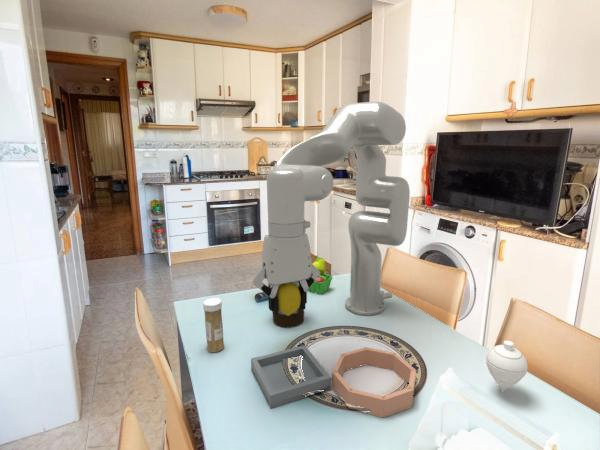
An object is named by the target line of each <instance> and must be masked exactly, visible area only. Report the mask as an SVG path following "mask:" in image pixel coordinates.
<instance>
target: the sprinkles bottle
mask: <svg viewBox="0 0 600 450" xmlns="http://www.w3.org/2000/svg"><path fill="white" fill-rule="evenodd" d="M222 304H223V303H222V299H221V298H218V297H211V298H208V299H205V300H204V301H203V310H204V324H205V326H204V327H205V338H206V349H207V351H208V352H210V353H218V352H220V351H222V350H224V348H225V343H224V327H223V317H222V316H223V315H222V306H223V305H222Z"/></svg>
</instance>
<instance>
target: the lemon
mask: <svg viewBox="0 0 600 450" xmlns="http://www.w3.org/2000/svg"><path fill="white" fill-rule="evenodd" d="M276 296H277V297H278V310H279V311H280V312H281V313H283V314H286V315H287V316H289V315H291V314H292V313H294V312H296V311H297V310H298V308H299V306H300V302H301V296H300V291H299V289H298V287H297V286H296V285H295V284H294V283H285V284H281V285H280V286H279V287H278V289H277V293H276Z"/></svg>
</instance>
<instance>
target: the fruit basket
mask: <svg viewBox="0 0 600 450" xmlns="http://www.w3.org/2000/svg"><path fill="white" fill-rule="evenodd" d="M311 263H312V264H313V265H314V266H315V267H316V268H317V269H318V270H319V271H320V275H319V276H318V277H317V278H316V279H315V280H314V282H313V284H312V285H311V286H310V287H309V291H308V292H312V293H314V294H318V295H322V294H323V293H326V292H327V291H329V289H330V286H331V282H332V280H333V276H332V275H328V274H327V273H326V274H325V272H326V261H325V260H324V258H323V257H316V258H315V260H314V262H311Z"/></svg>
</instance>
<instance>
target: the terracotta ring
mask: <svg viewBox="0 0 600 450" xmlns="http://www.w3.org/2000/svg"><path fill="white" fill-rule="evenodd" d="M364 364H366V365H367V364H369V365H368V366H371V365H373V366H372V367H376V366H377V368H381V369H386V370H391V371H393V372H394V373H395V374H396V375H398V376H399V377H400V378H401V379H402V380H403V379H404V380H406V381H407V382H409V384H408V386H407V387H406V388H403V389H400V390H397V391H394V392H392V393H389V394H386V395H378V394H375V393H370V392H367V391H363V390H358V389H355V388H352V387H351V385H350V384H349V383H348V382H347V381H346V380H345V379H344V377H343V375H344V372H345V370H346V371H348V369H349V370H352V369H351V368H353V369H355V367H356V368H358V366H359V367H361V366H360V365H363V366H365V365H364ZM416 373H417V369H416V368H415V367H413V366H412V365H411V364H410V363H408V362H407V361H406V360H405V359H404V358H402V357H401V356H400V355H399V354H398V353H396V352H392V351H388V350H387V351H386V350H383V349H377V348H373V347H372V348H371V347H367V346H366V347H362V348H358V349H355V350H352V351H347V352H343V353H341V354H340V355H339V356H338V359H337V361H336V362H335V365H334V367H333V368H332V371H331V389H333V391H334V392H335V393H336V395H339V396H340V397H342V398H343V399H344V400H345V401H346V402H347V403H348V404H351V405H356V406H360V407H364V408H367V409H370V410H372V411H370V412H366V413H365V414H369V415H372V416H377V417H380V418H387V417H389V416H391V415H394V414H397V413H400V412H402V411H404V410H405V411H406V410H408V409H411V408H412V407H413V403H414V402H413V401H414V396H413V395H415V389H414V387H416V378H417V377H416V375H417V374H416ZM342 374H343V375H342ZM404 380H403V381H404ZM339 396H338V397H339ZM340 397H339V398H340Z"/></svg>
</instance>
